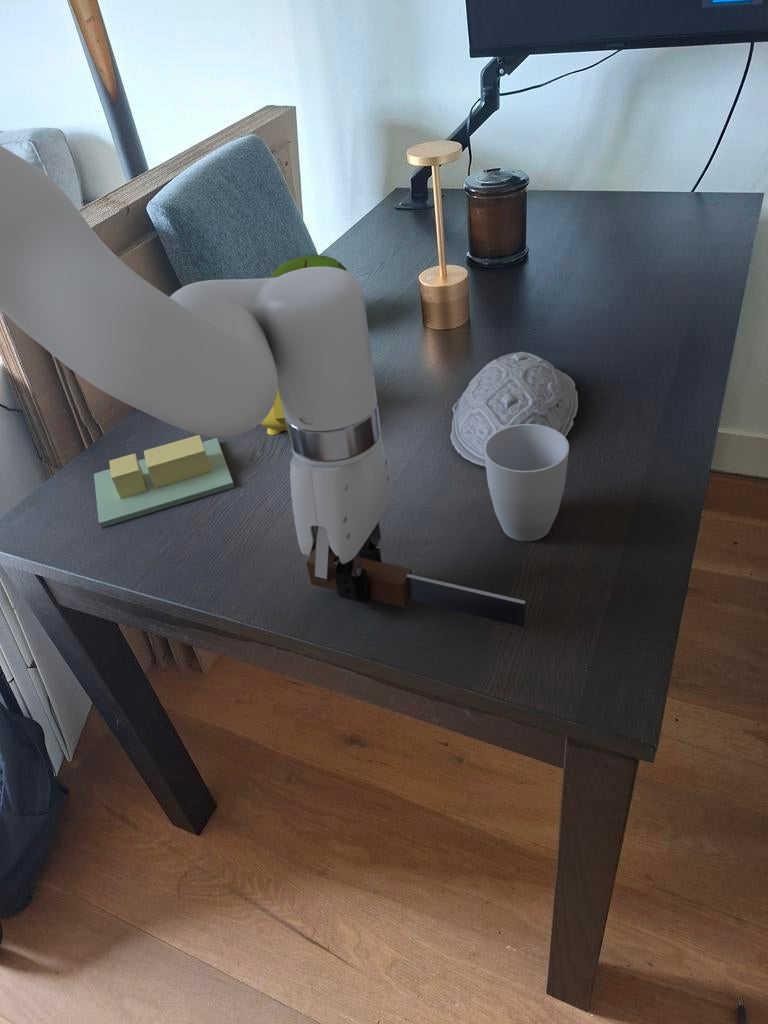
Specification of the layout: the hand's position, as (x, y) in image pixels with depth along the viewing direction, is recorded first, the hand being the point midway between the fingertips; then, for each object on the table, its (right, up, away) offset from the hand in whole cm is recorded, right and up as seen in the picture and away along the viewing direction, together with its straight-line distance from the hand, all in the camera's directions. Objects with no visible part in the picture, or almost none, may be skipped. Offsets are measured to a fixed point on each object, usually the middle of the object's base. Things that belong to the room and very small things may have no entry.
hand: (361, 586), depth 73 cm
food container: (+19, +20, +24) cm, 36 cm away
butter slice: (-29, +10, +20) cm, 36 cm away
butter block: (-23, +12, +21) cm, 33 cm away
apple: (-9, +37, +50) cm, 63 cm away
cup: (+17, +6, +7) cm, 19 cm away
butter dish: (-25, +11, +21) cm, 34 cm away
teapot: (-9, +20, +29) cm, 37 cm away
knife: (+5, -1, -2) cm, 5 cm away
